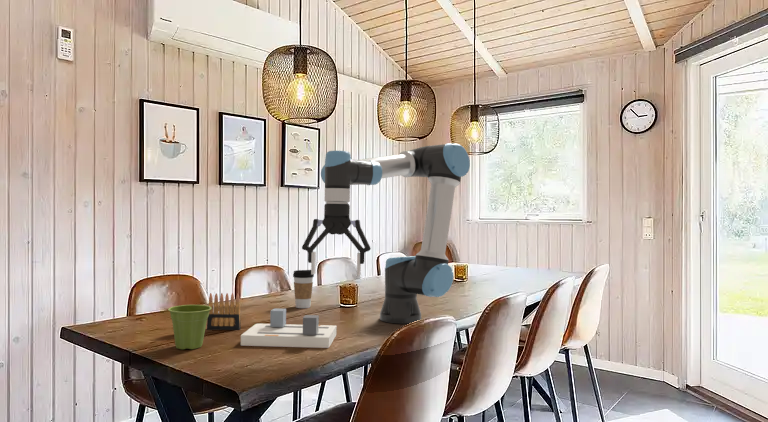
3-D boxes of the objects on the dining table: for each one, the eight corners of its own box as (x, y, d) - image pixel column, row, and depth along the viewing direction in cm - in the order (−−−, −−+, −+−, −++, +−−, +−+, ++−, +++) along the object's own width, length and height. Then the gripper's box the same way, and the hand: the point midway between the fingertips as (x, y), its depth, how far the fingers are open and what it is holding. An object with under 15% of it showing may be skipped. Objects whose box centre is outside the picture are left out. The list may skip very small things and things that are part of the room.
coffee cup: (309, 309, 216) (310, 271, 216) (289, 308, 218) (289, 270, 218) (316, 305, 225) (316, 269, 225) (296, 304, 226) (297, 268, 226)
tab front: (318, 331, 164) (318, 315, 164) (316, 334, 160) (316, 318, 160) (305, 331, 164) (305, 314, 164) (302, 334, 160) (302, 317, 160)
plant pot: (198, 353, 151) (199, 312, 151) (159, 351, 153) (159, 310, 152) (218, 343, 162) (218, 305, 162) (181, 340, 164) (181, 303, 164)
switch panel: (336, 334, 174) (336, 325, 174) (328, 347, 158) (328, 337, 158) (256, 332, 176) (256, 323, 176) (240, 345, 160) (240, 334, 160)
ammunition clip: (240, 328, 182) (241, 292, 181) (239, 329, 180) (240, 293, 180) (208, 328, 181) (208, 292, 181) (206, 329, 179) (207, 293, 179)
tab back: (285, 324, 174) (286, 308, 174) (282, 327, 170) (283, 311, 170) (273, 324, 174) (273, 308, 174) (270, 326, 170) (270, 310, 170)
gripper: (379, 203, 165) (378, 273, 165) (298, 202, 166) (297, 271, 167) (378, 203, 157) (376, 277, 158) (292, 202, 159) (291, 274, 159)
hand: (335, 274), depth 162 cm, fingers open, 13 cm apart
